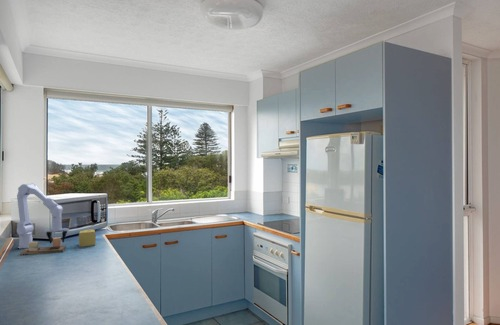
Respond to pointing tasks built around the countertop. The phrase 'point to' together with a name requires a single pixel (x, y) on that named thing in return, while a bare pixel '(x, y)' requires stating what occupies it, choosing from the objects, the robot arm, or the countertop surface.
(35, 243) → the maple block
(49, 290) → the countertop surface
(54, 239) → the terracotta block
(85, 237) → the cheese
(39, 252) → the puzzle board
